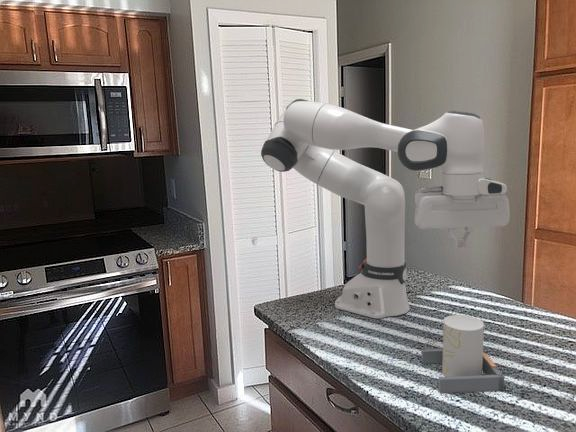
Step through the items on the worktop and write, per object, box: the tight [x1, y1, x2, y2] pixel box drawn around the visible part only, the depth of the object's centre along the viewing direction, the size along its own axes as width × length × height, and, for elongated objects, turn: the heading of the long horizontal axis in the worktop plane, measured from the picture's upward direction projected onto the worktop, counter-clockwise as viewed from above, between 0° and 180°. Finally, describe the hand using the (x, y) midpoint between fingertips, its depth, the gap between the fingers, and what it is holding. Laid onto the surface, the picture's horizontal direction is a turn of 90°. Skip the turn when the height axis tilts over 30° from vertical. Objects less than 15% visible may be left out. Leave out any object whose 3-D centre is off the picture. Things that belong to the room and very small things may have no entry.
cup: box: [441, 314, 485, 377], centre depth 99 cm, size 8×8×12 cm
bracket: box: [420, 348, 506, 394], centre depth 99 cm, size 13×13×4 cm
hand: (460, 246), depth 103 cm, fingers closed
